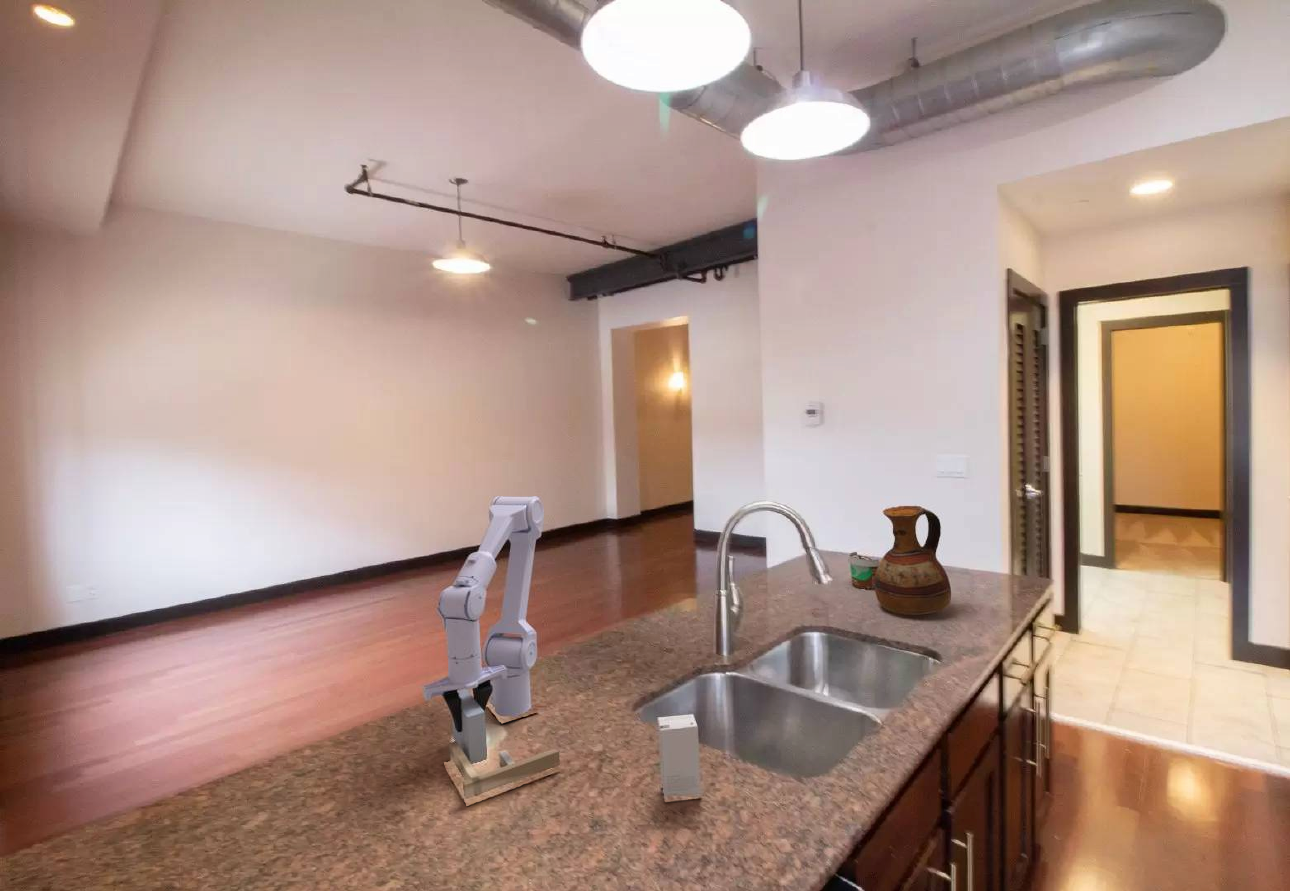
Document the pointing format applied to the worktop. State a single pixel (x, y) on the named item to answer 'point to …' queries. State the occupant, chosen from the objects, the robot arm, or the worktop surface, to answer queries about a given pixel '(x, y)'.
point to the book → (471, 729)
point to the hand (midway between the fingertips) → (468, 726)
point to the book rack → (500, 769)
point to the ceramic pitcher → (912, 566)
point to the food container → (863, 571)
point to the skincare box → (679, 755)
